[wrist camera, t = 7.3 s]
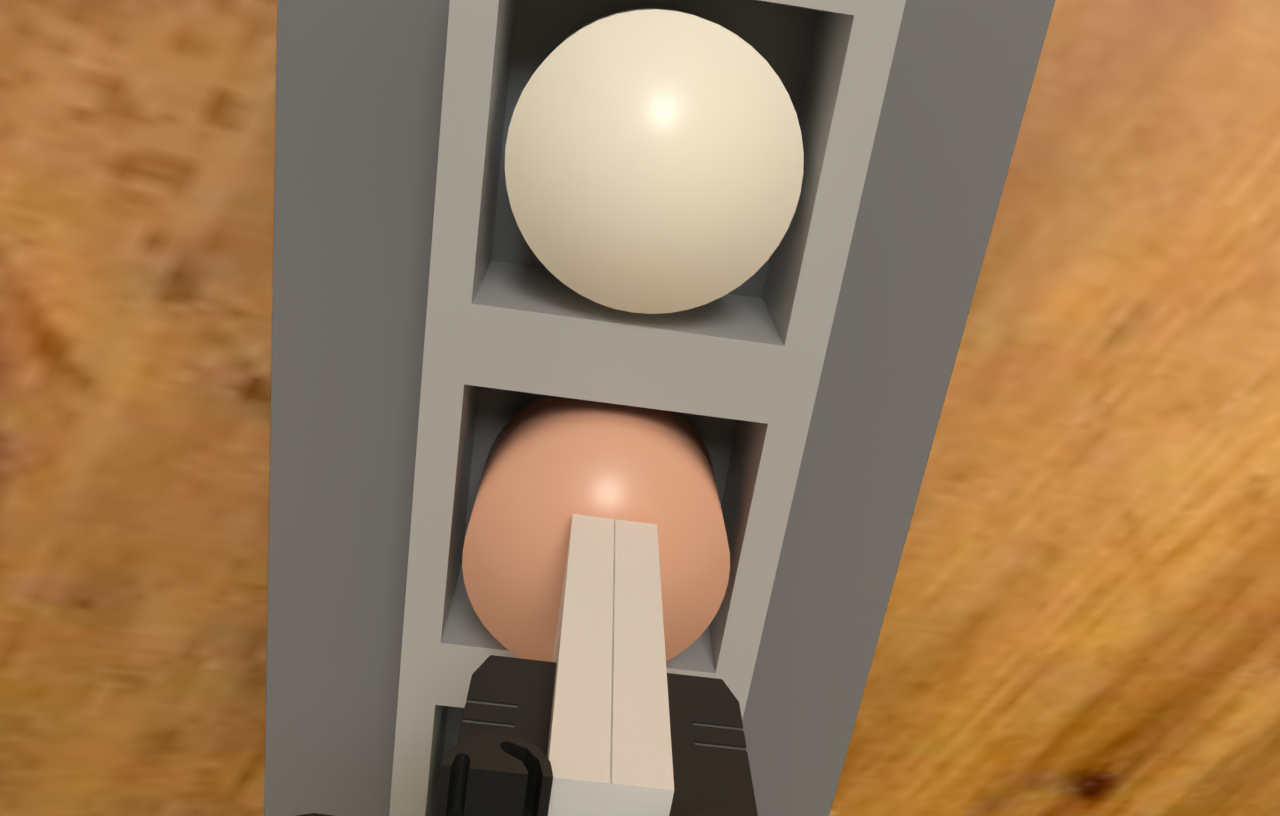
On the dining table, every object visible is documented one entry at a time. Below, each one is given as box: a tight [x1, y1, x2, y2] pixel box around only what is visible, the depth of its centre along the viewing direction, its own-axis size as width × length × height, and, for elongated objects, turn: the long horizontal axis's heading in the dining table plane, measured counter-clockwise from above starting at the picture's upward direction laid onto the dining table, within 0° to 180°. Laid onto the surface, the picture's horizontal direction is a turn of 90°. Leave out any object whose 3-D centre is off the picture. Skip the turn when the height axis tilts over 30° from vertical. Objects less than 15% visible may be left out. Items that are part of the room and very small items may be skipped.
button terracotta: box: [462, 395, 730, 662], centre depth 20 cm, size 5×5×3 cm
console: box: [264, 0, 1055, 816], centre depth 22 cm, size 22×14×5 cm, turn 172°
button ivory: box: [505, 7, 804, 314], centre depth 18 cm, size 5×5×3 cm
